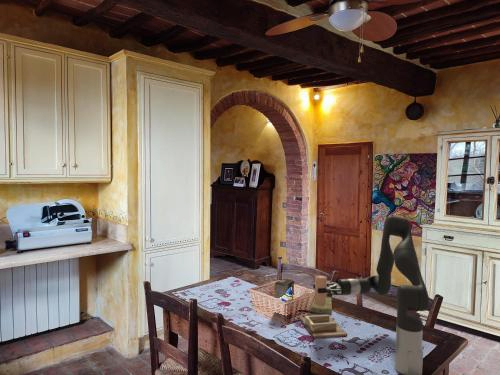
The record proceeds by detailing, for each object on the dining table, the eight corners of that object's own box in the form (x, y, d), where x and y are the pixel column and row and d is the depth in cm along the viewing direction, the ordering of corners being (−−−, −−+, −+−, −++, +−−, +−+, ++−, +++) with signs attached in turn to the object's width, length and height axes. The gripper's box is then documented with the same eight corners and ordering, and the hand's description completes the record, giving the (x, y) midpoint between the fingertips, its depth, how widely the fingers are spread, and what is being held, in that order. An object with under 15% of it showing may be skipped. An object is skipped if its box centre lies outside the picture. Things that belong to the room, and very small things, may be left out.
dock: (347, 335, 170) (347, 327, 170) (313, 338, 167) (314, 329, 167) (330, 317, 190) (330, 310, 189) (300, 319, 187) (300, 311, 187)
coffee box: (284, 306, 203) (284, 278, 202) (293, 309, 199) (294, 280, 198) (274, 311, 196) (275, 282, 195) (284, 315, 192) (285, 284, 191)
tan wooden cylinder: (327, 305, 175) (328, 278, 174) (317, 306, 174) (317, 279, 173) (323, 301, 181) (324, 275, 180) (313, 301, 180) (313, 275, 179)
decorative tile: (296, 299, 216) (296, 293, 216) (331, 302, 212) (331, 296, 212) (293, 311, 198) (294, 305, 198) (332, 315, 194) (332, 308, 194)
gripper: (342, 274, 186) (310, 276, 183) (355, 284, 172) (321, 286, 169) (342, 289, 187) (310, 291, 184) (355, 299, 173) (320, 302, 170)
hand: (315, 288), depth 176 cm, fingers closed on tan wooden cylinder, 5 cm apart
